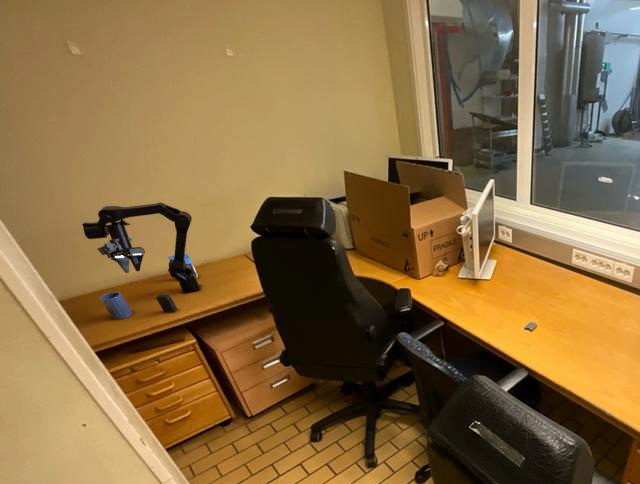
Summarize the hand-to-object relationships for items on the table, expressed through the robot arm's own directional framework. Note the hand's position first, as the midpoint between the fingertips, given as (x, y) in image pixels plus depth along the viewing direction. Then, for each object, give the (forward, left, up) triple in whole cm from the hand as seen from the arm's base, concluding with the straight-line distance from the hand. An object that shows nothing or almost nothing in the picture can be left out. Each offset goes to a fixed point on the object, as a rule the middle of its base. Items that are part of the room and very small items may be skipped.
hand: (132, 272), depth 176 cm
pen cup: (+9, +9, -16) cm, 20 cm away
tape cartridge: (-14, -22, -16) cm, 31 cm away
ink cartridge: (-10, +14, -16) cm, 23 cm away
